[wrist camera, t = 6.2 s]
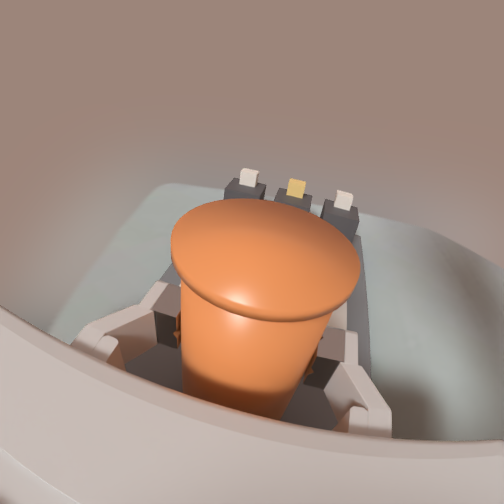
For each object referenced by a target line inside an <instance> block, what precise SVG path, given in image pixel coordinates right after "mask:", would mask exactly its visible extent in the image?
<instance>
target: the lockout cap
mask: <svg viewBox="0 0 504 504" xmlns="http://www.w3.org/2000/svg"><path fill="white" fill-rule="evenodd" d="M171 259H172V263H173V266H174V268H175V270H176V272H177V274H178V276H179V277H180V278H181V360H182V388H183V393H184V394H187V395H190V396H193V397H196V398H199V399H202V400H205V401H208V402H211V403H214V404H218V405H221V406H225V407H228V408H231V409H235V410H239V411H242V412H246V413H250V414H254V415H258V416H262V417H266V418H270V419H274V420H279V421H280V419H281V417H282V415H283V413H284V411H285V410H286V408H287V406H288V404H289V402H290V400H291V398H292V396H293V394H294V392H295V390H296V388H297V387H298V385H299V383H300V381H301V379H302V377H303V375H304V373H305V371H306V369H307V367H308V364H309V362H310V360H311V358H312V356H313V354H314V352H315V350H316V348H317V346H318V344H319V341H320V339H321V337H322V335H323V333H324V330H325V328H326V326H327V324H328V322H329V319H330V317H331V315H332V313H333V311H335V310H336V309H338V308H339V307H341V306H342V305H343V304H344V303H345V302H346V301H347V300H348V299H349V297H350V296H351V294H352V292H353V290H354V288H355V286H356V284H357V281H358V279H359V276H360V271H361V270H360V260H359V256H358V254H357V252H356V250H355V248H354V247H353V245H352V243H351V242H350V241H349V240H348V239H347V238H346V237H345V236H344V235H343V234H342V233H341V232H340V231H339V230H338V229H336V228H335V227H334V226H333V225H331V224H330V223H328V222H327V221H325V220H323V219H321V218H320V217H318V216H316V215H314V214H311V213H309V212H307V211H304V210H302V209H299V208H296V207H293V206H290V205H286V204H283V203H278V202H274V201H268V200H260V199H244V198H240V199H225V200H219V201H214V202H210V203H206V204H203V205H201V206H198V207H196V208H194V209H192V210H190V211H189V212H187V213H186V214H184V215H183V216H182V217H181V218H180V219H179V220H178V222H177V223H176V224H175V226H174V228H173V231H172V235H171Z"/></svg>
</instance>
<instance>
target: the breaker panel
mask: <svg viewBox="0 0 504 504" xmlns="http://www.w3.org/2000/svg"><path fill="white" fill-rule="evenodd" d="M258 175H259V171H256V170H251V169H247V168H243V169H242V171H241V174H240V179H238V178H234V179H233V180H232V181H231V182H230V183H229V184H228V186H227V187H226V188H225V192H224V200H225V199H240V198H244V199H260V200H264V195H265V189H266V185H265V184H261V183H257V181H258ZM305 185H306V182H304V181H300V180H296V179H292V178H290V181H289V185H288V189H282V188H279V190H278V192H277V195H276V197H275V199H274V202H278V203H283V204H286V205H290V206H293V207H296V208H299V209H302V210H304V211H307V212H309V211H310V206H311V200H312V196H311V195H307V194H303V193H304V189H305ZM352 201H353V194H350V193H347V192H343V191H339V190H337V193H336V196H335V200H334V201H331V200H327V199H325V202H324V205H323V209H322V213H321V216H320V218H321V219H323V220H325V221H327V222H328V223H330V224H331V225H333V226H334V227H335V228H336V229H338V230H339V231H340V232H341V233H342V234H343V235H344V236H345V237H346V238H347V239H348V240H349V241H350V242H351V243H352V245H353V247H354V248H355V250H356V252H357V254H358V256H359V260H360V270H361V271H360V276H359V279H358V281H357V284H356V286H355V288H354V290H353V292H352V294H351V296H350V297H349V299H348V300H347V301H346V302H345V303H344V304H343V305H342V306H341V307H339V308H338V309H336V310H335V311H333V313H332V315H331V317H330V319H329V322H328V324H327V326H330V327H335V328H339V329H344V330H349V331H354V332H357V334H358V365H359V366H362V367H363V369H364V370H365V372H366V373H367V375H368V376H369V378H370V379H371V361H370V336H369V319H368V305H367V293H366V282H365V271H364V262H363V253H362V245H361V237H360V236H358V235H355V233H356V230H357V227H358V224H359V216H358V210H357V208H356V207H353V206H351V204H352ZM160 280H161V281H164V282H167V283H171V284H174V285H177V286H180V287H181V278H180V277H179V276H178V274H177V272H176V270H175V268H174V266H173V263H172V264H171V265H170V266H169V268H168V269H167V270H166V272H165V273H164V274H163V276H162V277H161V278H160ZM124 365H125V368H126V372H129V373H131V374H133V375H136V376H138V377H141V378H143V379H146V380H148V381H151V382H154V383H156V384H159V385H161V386H164V387H167V388H170V389H172V390H175V391H178V392H181V393H183V388H182V360H181V343H180V345H179V347H178V349H175V348H172V347H169V346H165V345H162V344H159V343H157V345H155V346H154V347H152V348H150V349H149V350H147V351H145V352H144V353H142V354H141V355H139V356H137V357H136V358H134V359H132V360H131V361H129V362H127V363H126V364H124ZM304 374H305V373H304ZM303 380H304V375H303V377H302V379H301V381H300V383H299V385H298V387H297V388H296V390H295V392H294V394H293V396H292V398H291V400H290V402H289V404H288V406H287V408H286V410H285V411H284V413H283V415H282V417H281V419H280V421H283V422H288V423H292V424H297V425H302V426H307V427H313V428H318V429H324V430H330V431H332V429H333V428H334V427H335V426H336V425H337V424H338V421H337V419H336V417H335V415H334V412H333V410H332V408H331V406H330V403H329V401H328V399H327V397H326V395H325V392H324V389H321V388H316V387H312V386H308V385H304V384H303Z"/></svg>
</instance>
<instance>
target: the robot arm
mask: <svg viewBox="0 0 504 504" xmlns="http://www.w3.org/2000/svg"><path fill="white" fill-rule="evenodd" d="M157 343H159V344H162V345H165V346H169V347H172V348H175V349H178V347H179V345H180V343H181V287H180V286H177V285H174V284H171V283H167V282H164V281H161V280H158V281H156V282H155V283H154V284H153V286H152V287H151V288H150V290H149V291H148V293H147V294H146V295H145V297H144V298H143V299H142V301H141V302H140V303H139V305H132V306H130V307H128V308H125V309H123V310H120V311H118V312H115V313H113V314H111V315H108V316H106V317H103V318H101V319H99V320H96V321H94V322H91V323H89V324H86V325H85V327H84V328H83V329H82V331H81V332H80V333H79V334H78V336H77V337H76V338H75V339H74V341H73V342H72V343H71V345H68V344H67V343H65V342H63V341H61V340H59V339H57V338H55V337H53V336H51V335H50V334H48V333H46V332H44V331H42V330H41V329H39V328H37V327H35V326H34V325H32V324H30V323H29V322H27V321H25V320H23V319H22V318H20V317H18V316H17V315H15V314H13V313H12V312H10V311H9V310H7V309H6V308H4V307H2V306H1V305H0V504H504V440H477V441H429V440H409V439H395V438H392V414H391V409H390V408H389V406H388V405H387V403H386V402H385V400H384V399H383V397H382V396H381V394H380V393H379V391H378V390H377V388H376V387H375V385H374V384H373V382H372V381H371V379H370V378H369V376H368V375H367V373H366V372H365V370H364V369H363V367H362V366H359V365H358V334H357V332H354V331H349V330H344V329H339V328H335V327H330V326H326V328H325V330H324V333H323V335H322V337H321V339H320V341H319V344H318V346H317V348H316V350H315V352H314V354H313V356H312V358H311V360H310V362H309V364H308V367H307V369H306V371H305V374H304V380H303V384H304V385H308V386H312V387H316V388H321V389H324V392H325V395H326V397H327V399H328V401H329V403H330V406H331V408H332V410H333V412H334V415H335V417H336V419H337V421H338V424H337V425H336V426H335V427H334V428H333V429H332V431H330V430H324V429H318V428H313V427H307V426H302V425H297V424H292V423H288V422H283V421H279V420H274V419H270V418H266V417H262V416H258V415H254V414H250V413H246V412H242V411H239V410H235V409H231V408H228V407H225V406H221V405H218V404H214V403H211V402H208V401H205V400H202V399H199V398H196V397H193V396H190V395H187V394H184V393H181V392H178V391H175V390H172V389H170V388H167V387H164V386H161V385H159V384H156V383H154V382H151V381H148V380H146V379H143V378H141V377H138V376H136V375H133V374H131V373H129V372H126V368H125V365H124V364H126V363H127V362H129V361H131V360H132V359H134V358H136V357H137V356H139V355H141V354H142V353H144V352H145V351H147V350H149V349H150V348H152V347H154V346H155V345H157Z"/></svg>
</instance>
